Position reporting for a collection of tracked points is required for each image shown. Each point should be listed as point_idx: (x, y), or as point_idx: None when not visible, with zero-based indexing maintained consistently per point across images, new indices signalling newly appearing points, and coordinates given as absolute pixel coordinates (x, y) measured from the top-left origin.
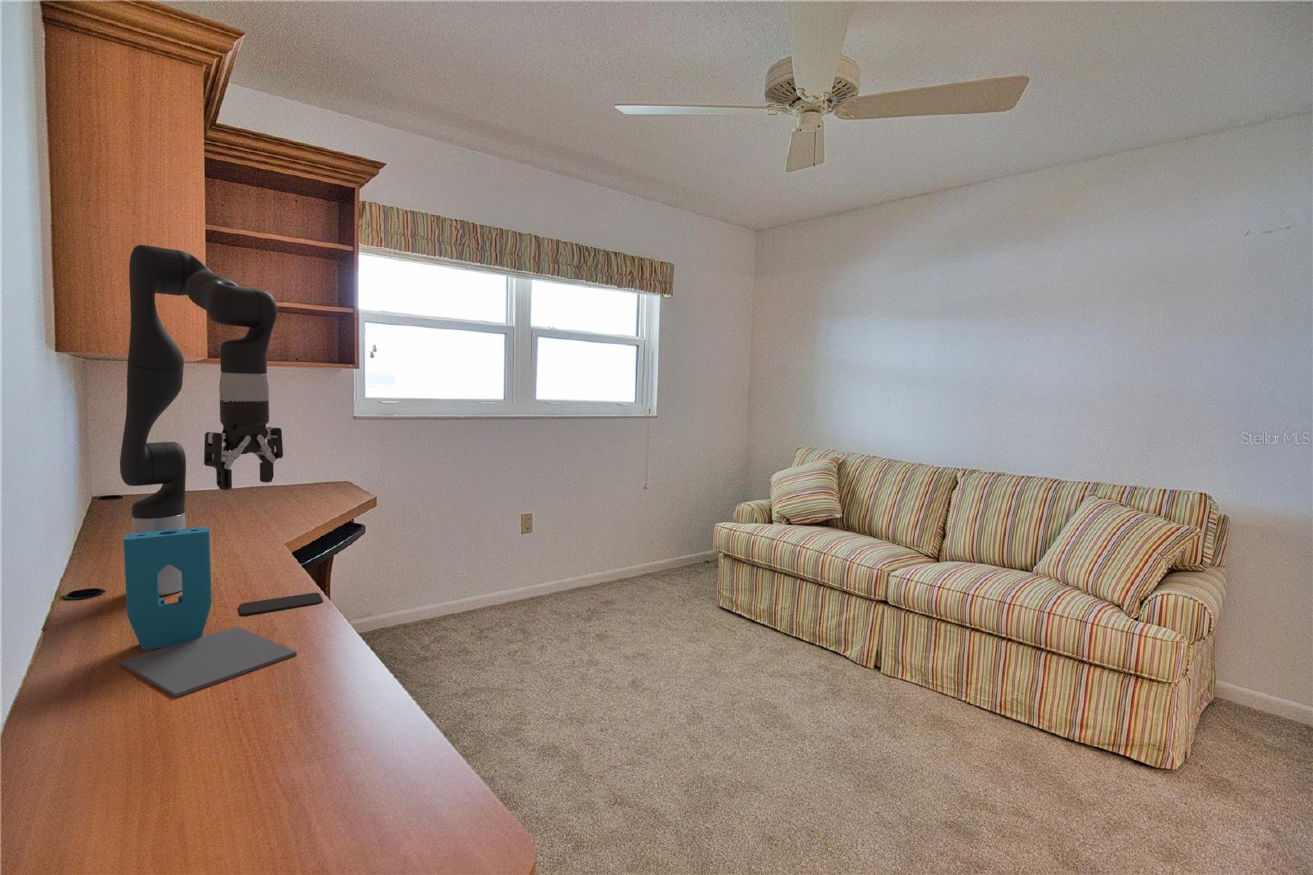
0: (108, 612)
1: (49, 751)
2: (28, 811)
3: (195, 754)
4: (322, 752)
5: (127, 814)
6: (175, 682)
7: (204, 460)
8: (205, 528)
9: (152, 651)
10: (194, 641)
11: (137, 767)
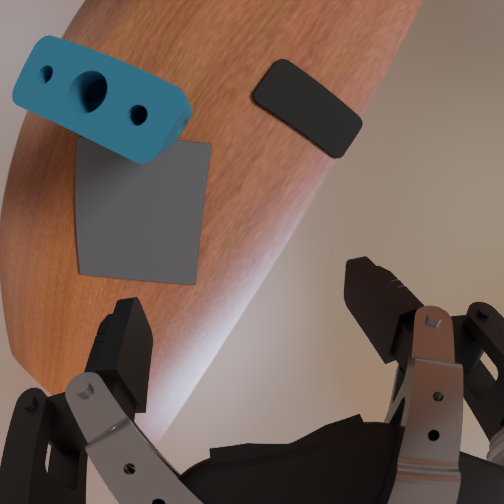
0: None
1: (13, 276)
2: (10, 328)
3: (73, 353)
4: None
5: (43, 366)
6: (87, 250)
7: (14, 414)
8: (168, 116)
9: None
10: None
11: (48, 338)
